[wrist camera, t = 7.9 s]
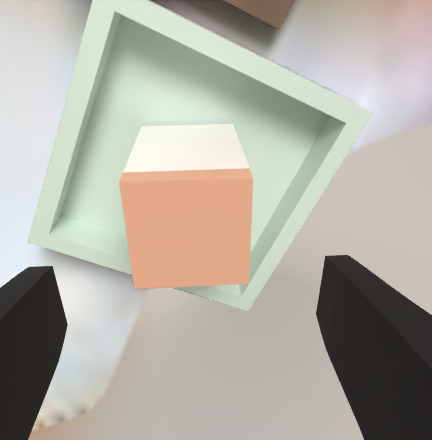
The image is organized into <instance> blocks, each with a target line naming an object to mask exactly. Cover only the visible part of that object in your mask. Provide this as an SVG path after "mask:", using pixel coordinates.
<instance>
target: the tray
mask: <svg viewBox="0 0 432 440" xmlns="http://www.w3.org/2000/svg"><path fill="white" fill-rule="evenodd" d="M372 114H373V113H371V112H370V111H368V110H366V109H364V108H363V107H361V106H359V105H357V104H356V103H354V102H352V101H350V100H348V99H346V98H344V97H342V96H340V95H338V94H336V93H334V92H332V91H330V90H328V89H327V88H325V87H323V86H321V85H319V84H317V83H315V82H313V81H311V80H309V79H307V78H305V77H303V76H301V75H299V74H297V73H295V72H293V71H291V70H289V69H287V68H285V67H283V66H281V65H279V64H277V63H275V62H273V61H271V60H269V59H267V58H265V57H263V56H261V55H259V54H257V53H255V52H253V51H251V50H249V49H247V48H245V47H243V46H241V45H239V44H237V43H235V42H233V41H231V40H229V39H227V38H225V37H223V36H221V35H219V34H217V33H215V32H213V31H211V30H209V29H207V28H205V27H203V26H201V25H199V24H197V23H195V22H193V21H191V20H189V19H187V18H185V17H183V16H181V15H179V14H177V13H175V12H173V11H171V10H170V9H168V8H166V7H164V6H162V5H160V4H158V3H156V2H154V1H152V0H92V4H91V8H90V12H89V15H88V19H87V23H86V26H85V30H84V34H83V38H82V41H81V45H80V49H79V53H78V56H77V60H76V64H75V67H74V71H73V75H72V79H71V82H70V86H69V90H68V94H67V97H66V101H65V105H64V108H63V112H62V116H61V120H60V123H59V127H58V131H57V135H56V138H55V142H54V146H53V149H52V153H51V157H50V161H49V164H48V168H47V172H46V176H45V179H44V183H43V187H42V190H41V194H40V198H39V202H38V205H37V209H36V213H35V217H34V220H33V224H32V228H31V231H30V235H29V239H28V243H31V244H34V245H38V246H41V247H44V248H47V249H50V250H54V251H57V252H60V253H63V254H66V255H70V256H73V257H76V258H79V259H82V260H86V261H89V262H92V263H95V264H98V265H101V266H105V267H108V268H111V269H114V270H117V271H121V272H124V273H127V274H130V275H132V270H131V263H130V256H129V249H128V242H127V235H126V228H125V221H124V214H123V207H122V200H121V193H120V186H119V181H120V179H121V176H122V174H123V171H124V169H125V166H126V164H127V161H128V159H129V156H130V154H131V151H132V149H133V146H134V144H135V142H136V139H137V137H138V134H139V132H140V129H141V127H142V124H143V122H149V121H186V120H223V119H231V120H232V123H233V126H234V128H235V131H236V134H237V136H238V139H239V142H240V144H241V147H242V149H243V152H244V155H245V157H246V160H247V163H248V165H249V168H250V171H251V173H252V176H253V197H252V224H251V250H250V276H249V284H234V285H212V286H191V287H172V288H175V289H178V290H181V291H185V292H188V293H191V294H194V295H197V296H201V297H204V298H207V299H210V300H213V301H217V302H220V303H223V304H226V305H229V306H232V307H236V308H239V309H242V310H245V311H249V309H250V307H251V306H252V304H253V303H254V301H255V300H256V298H257V296H258V295H259V293H260V292H261V290H262V288H263V287H264V285H265V284H266V282H267V281H268V279H269V277H270V276H271V274H272V273H273V271H274V269H275V267H276V266H277V265H278V263H279V261H280V260H281V258H282V257H283V255H284V253H285V252H286V250H287V249H288V247H289V246H290V244H291V242H292V241H293V239H294V237H295V236H296V235H297V233H298V231H299V230H300V228H301V227H302V225H303V223H304V222H305V220H306V219H307V217H308V215H309V214H310V212H311V211H312V209H313V207H314V206H315V204H316V203H317V201H318V200H319V198H320V196H321V195H322V193H323V192H324V190H325V188H326V187H327V185H328V184H329V182H330V181H331V179H332V177H333V176H334V174H335V173H336V171H337V169H338V168H339V166H340V165H341V163H342V162H343V160H344V158H345V157H346V155H347V154H348V152H349V150H350V149H351V147H352V146H353V144H354V143H355V141H356V139H357V138H358V136H359V135H360V133H361V131H362V130H363V128H364V127H365V125H366V123H367V122H368V120H369V119H370V117H371V116H372Z"/></svg>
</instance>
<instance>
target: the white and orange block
mask: <svg viewBox="0 0 432 440" xmlns="http://www.w3.org/2000/svg"><path fill="white" fill-rule="evenodd" d="M119 186H120V193H121V200H122V207H123V214H124V221H125V228H126V235H127V242H128V249H129V256H130V263H131V270H132V276H133V283H134V289H149V288H170V287H191V286H212V285H234V284H249V276H250V250H251V224H252V197H253V176H252V173H251V171H250V168H249V165H248V163H247V160H246V157H245V155H244V152H243V149H242V147H241V144H240V142H239V139H238V136H237V134H236V131H235V128H234V126H233V123H232V120H231V119H223V120H186V121H149V122H143V124H142V127H141V129H140V132H139V134H138V137H137V139H136V142H135V144H134V146H133V149H132V151H131V154H130V156H129V159H128V161H127V164H126V166H125V169H124V171H123V174H122V176H121V179H120V181H119Z"/></svg>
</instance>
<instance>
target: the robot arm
mask: <svg viewBox="0 0 432 440" xmlns="http://www.w3.org/2000/svg"><path fill="white" fill-rule="evenodd" d="M316 315H317V319H318V323H319V326H320V330H321V334H322V337H323V340H324V344H325V347H326V350H327V352H328V355H329V357H330V360H331V362H332V364H333V367H334V369H335V371H336V374H337V376H338V378H339V381H340V383H341V385H342V388H343V390H344V392H345V395H346V397H347V399H348V401H349V404H350V406H351V409H352V411H353V413H354V416H355V418H356V420H357V423H358V425H359V427H360V430H361V433H362V435H363V438H364V440H432V315H431V314H429V313H428V312H426V311H425V310H423V309H422V308H420V307H419V306H418V305H416V304H415V303H413V302H412V301H410V300H409V299H408V298H406V297H405V296H403V295H402V294H401V293H399V292H398V291H396V290H395V289H394V288H392V287H391V286H389V285H388V284H386V283H385V282H384V281H383V280H382V279H380V278H379V277H377V276H376V275H375V274H373V273H372V272H371V271H369V270H368V269H367V268H365V267H364V266H363V265H361V264H360V263H359V262H357V261H356V260H354V259H353V258H351V257H350V256H348V255H338V256H325V261H324V268H323V274H322V281H321V287H320V294H319V299H318V305H317V312H316ZM67 326H68V325H67V321H66V317H65V313H64V309H63V305H62V301H61V297H60V293H59V289H58V286H57V282H56V278H55V274H54V270H53V266H42V267H28V268H26V269H25V270H24V271H22V272H21V273H19V274H18V275H17V276H15V277H14V278H13V279H11V280H10V281H9V282H7V283H6V284H5V285H3V286H2V287H1V288H0V440H28V438H29V436H30V433H31V431H32V428H33V426H34V423H35V421H36V418H37V415H38V413H39V410H40V408H41V405H42V403H43V400H44V398H45V395H46V393H47V390H48V388H49V385H50V383H51V380H52V377H53V375H54V372H55V370H56V367H57V364H58V362H59V358H60V354H61V351H62V347H63V343H64V338H65V334H66V330H67Z"/></svg>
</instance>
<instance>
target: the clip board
mask: <svg viewBox="0 0 432 440" xmlns="http://www.w3.org/2000/svg"><path fill="white" fill-rule="evenodd" d="M222 1H224V2H226V3H228V4H230V5H231V6H233V7H235V8H237V9H239V10H241V11H243V12H245V13H247V14H248V15H250V16H252V17H254V18H256V19H258V20H260V21H262V22H264V23H266V24H267V25H269V26H271V27H273V28H275V29H280V27H281V25H282V23H283V21H284V19H285V17H286V15H287V13H288V10H289V8H290V6H291V4H292V2H293V0H222Z"/></svg>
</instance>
